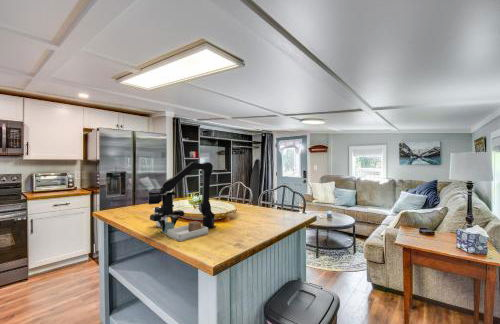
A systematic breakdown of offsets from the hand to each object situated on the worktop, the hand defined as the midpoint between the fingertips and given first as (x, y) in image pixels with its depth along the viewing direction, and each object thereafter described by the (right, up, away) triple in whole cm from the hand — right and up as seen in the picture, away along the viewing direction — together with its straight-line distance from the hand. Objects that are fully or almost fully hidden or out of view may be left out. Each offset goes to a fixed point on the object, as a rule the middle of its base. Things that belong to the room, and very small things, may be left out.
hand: (167, 230), depth 144 cm
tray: (+13, -1, -5) cm, 14 cm away
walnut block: (+16, 0, -2) cm, 16 cm away
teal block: (0, -1, 0) cm, 1 cm away
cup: (-8, -1, +13) cm, 16 cm away
